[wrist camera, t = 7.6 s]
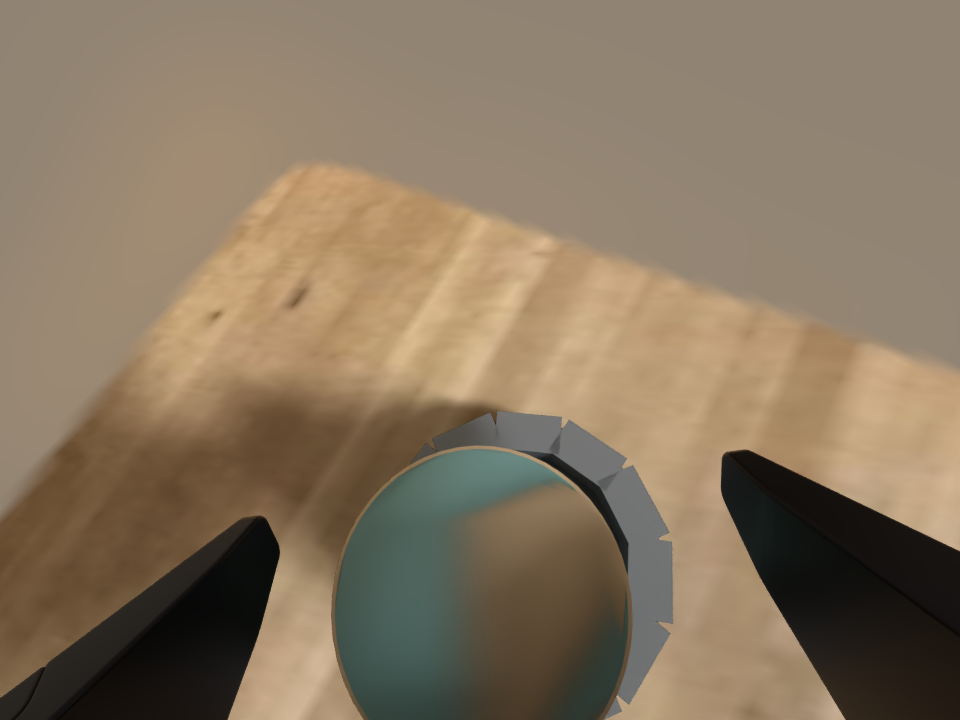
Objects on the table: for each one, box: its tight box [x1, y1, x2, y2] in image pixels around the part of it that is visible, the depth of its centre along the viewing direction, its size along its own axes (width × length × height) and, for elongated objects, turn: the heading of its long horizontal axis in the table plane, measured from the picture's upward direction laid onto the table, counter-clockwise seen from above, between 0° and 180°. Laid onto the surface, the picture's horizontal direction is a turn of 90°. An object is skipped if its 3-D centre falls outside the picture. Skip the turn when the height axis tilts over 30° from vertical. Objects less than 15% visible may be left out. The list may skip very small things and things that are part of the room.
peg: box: [331, 446, 633, 720], centre depth 11 cm, size 4×4×10 cm
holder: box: [410, 411, 673, 720], centre depth 15 cm, size 9×9×3 cm
